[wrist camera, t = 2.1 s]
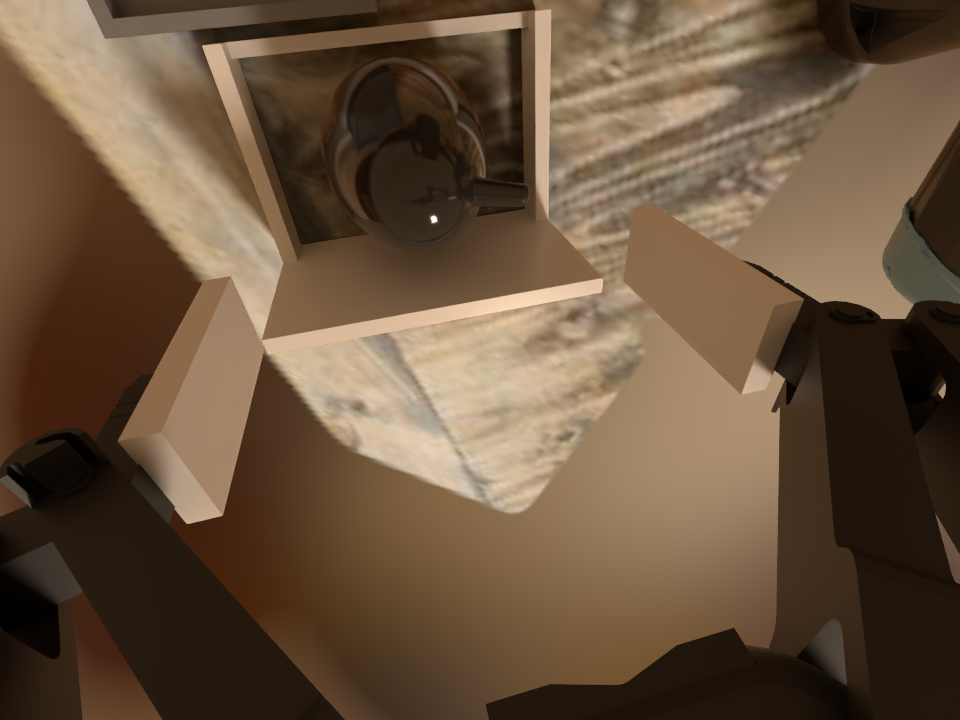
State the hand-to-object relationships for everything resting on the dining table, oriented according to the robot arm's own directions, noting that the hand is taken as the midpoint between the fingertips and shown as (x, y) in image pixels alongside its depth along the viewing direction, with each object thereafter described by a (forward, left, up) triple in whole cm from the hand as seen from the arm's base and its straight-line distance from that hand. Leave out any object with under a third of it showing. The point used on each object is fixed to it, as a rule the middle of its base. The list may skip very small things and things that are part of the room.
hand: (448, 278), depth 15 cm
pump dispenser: (0, 0, -22) cm, 22 cm away
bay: (0, +1, -22) cm, 22 cm away
